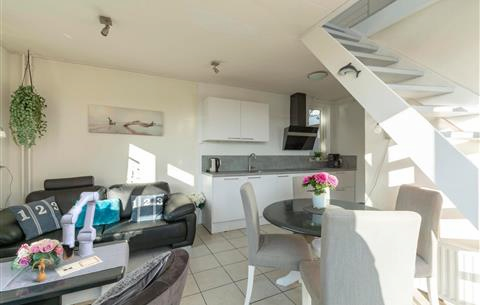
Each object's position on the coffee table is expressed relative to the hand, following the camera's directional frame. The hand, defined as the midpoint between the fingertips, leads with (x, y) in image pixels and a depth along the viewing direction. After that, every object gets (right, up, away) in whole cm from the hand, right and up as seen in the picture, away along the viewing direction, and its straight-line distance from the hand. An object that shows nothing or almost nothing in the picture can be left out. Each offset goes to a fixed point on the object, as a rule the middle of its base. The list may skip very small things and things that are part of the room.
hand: (68, 255), depth 130 cm
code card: (+4, -8, +5) cm, 10 cm away
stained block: (0, -1, 0) cm, 1 cm away
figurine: (-6, -8, -11) cm, 15 cm away
